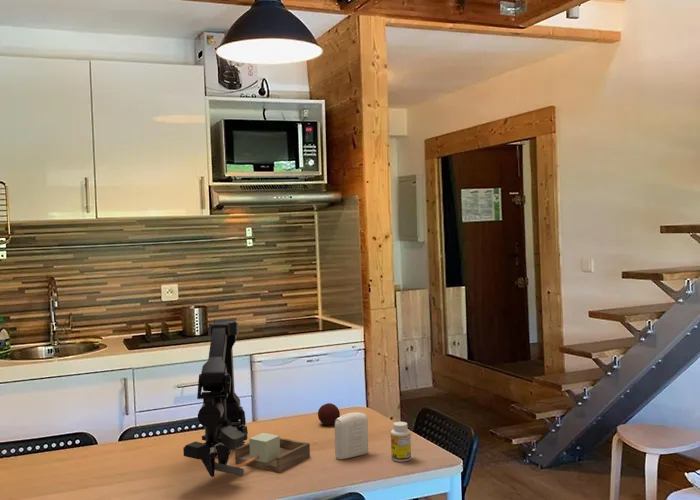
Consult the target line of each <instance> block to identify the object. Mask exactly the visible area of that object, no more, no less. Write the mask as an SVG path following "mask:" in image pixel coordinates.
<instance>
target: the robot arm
mask: <svg viewBox="0 0 700 500" xmlns="http://www.w3.org/2000/svg"><path fill="white" fill-rule="evenodd" d="M239 325H240V324H239V322H237V321H236V320H235V318H232V319H231V318H230V319H229V318H228V319H214V320H213V322H212V323H208V324H207V326H208V327H207V330H208V336H209V337H211V338H210V342H209V343H210V344H209V351H208V352H209V353H208V359H207V361H206V362H205V363H204V364H203V365H202V368H201V372H200V373H199V374H198V383H197V397H196V399H197V400H202V401H203V402H202V403H203V404H202V405H201V407H200V409H199V410H198V414H197V421H198V422H199V424H200V425H202V426H203V427H204V435H201V441H205V442H199V441H193V442H190V443H187V444H186V445H184V447H183V457H187V458H189V459H195V460H201V462H202V464H203V465H204V468H205V469H206V471H207V473H208V475H209V476H210V477H212V478H214V477H215V473H216V470H215V462H216V461H215V459H216V457H217V461H218V462H217V463H221V464H225V465H228V461H229V458H230V455H231V452H232V451H233V450H234V451H235V449H236V448H238V447H241V446H243V445H245V443H246V442H245V441H246V440H248V438H249V437H248V434H249V433H248V431H249V430H248V426H247V425H246V424H247V423H246V422H247V421H246V412H245V411H244V409H243V408H244V407H243V406H241V399H240V398H239V396H238V395H237V393H236V392H235V375H234V355H233V353H234V352H233V347H234V345H235V343H236V341H237V337H238V335H239V333H240V327H239ZM215 451H216V452H215Z"/></svg>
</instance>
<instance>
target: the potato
mask: <svg viewBox="0 0 700 500" xmlns="http://www.w3.org/2000/svg"><path fill="white" fill-rule="evenodd" d="M340 416H341V412H340V410H339V407H337V406H336V405H335V404H334V403H330V402H327V403H325V404H323V405H321V406H320V407H319V408H318V411H317V417H318V420H319V421H320V423H321V424H323V425H325V426H332V425H335V420H336V419H337V418H339V417H340Z"/></svg>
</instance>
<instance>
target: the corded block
mask: <svg viewBox="0 0 700 500" xmlns="http://www.w3.org/2000/svg"><path fill="white" fill-rule="evenodd" d="M248 438H249V439H248V443H249V444H250V460H247V461H245V462H243V463H241V464H236V465H235V466H233V465H231V464H230V465H229V464H227V465H225V464H221V463H218V462H216V461H215V472H216V471H217V472H219V473H220V472H221V473H224V474H229V475H233V476H237V477H242V476H244V473H245V469H244V468H243V467H244V466H247V465H246V464H248V463H250V462H252V461H259V462H263V463H268V462H270V461H272V460H274V459H276V458H277V457H279V456H280V438H281V437H280V435H277V434H272V433H268V432H267V433H266V432H261V433H259V434H257V435H254V436H252V437H248Z"/></svg>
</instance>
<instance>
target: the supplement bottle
mask: <svg viewBox="0 0 700 500" xmlns="http://www.w3.org/2000/svg"><path fill="white" fill-rule="evenodd" d="M392 425H393V426H392V427H393V428H392V429H391V431H390V444H391V445H390V451H391V452H390V453H391V455H390V456H391V459H392V460H393V461H395V462H400V463H403V462H404V463H405V462H408V461H411V459H412V446H411V445H412V442H411V441H412V439H411V438H412V437H411V430H410V429H408V422H405V421H395V422H393V423H392Z"/></svg>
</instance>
